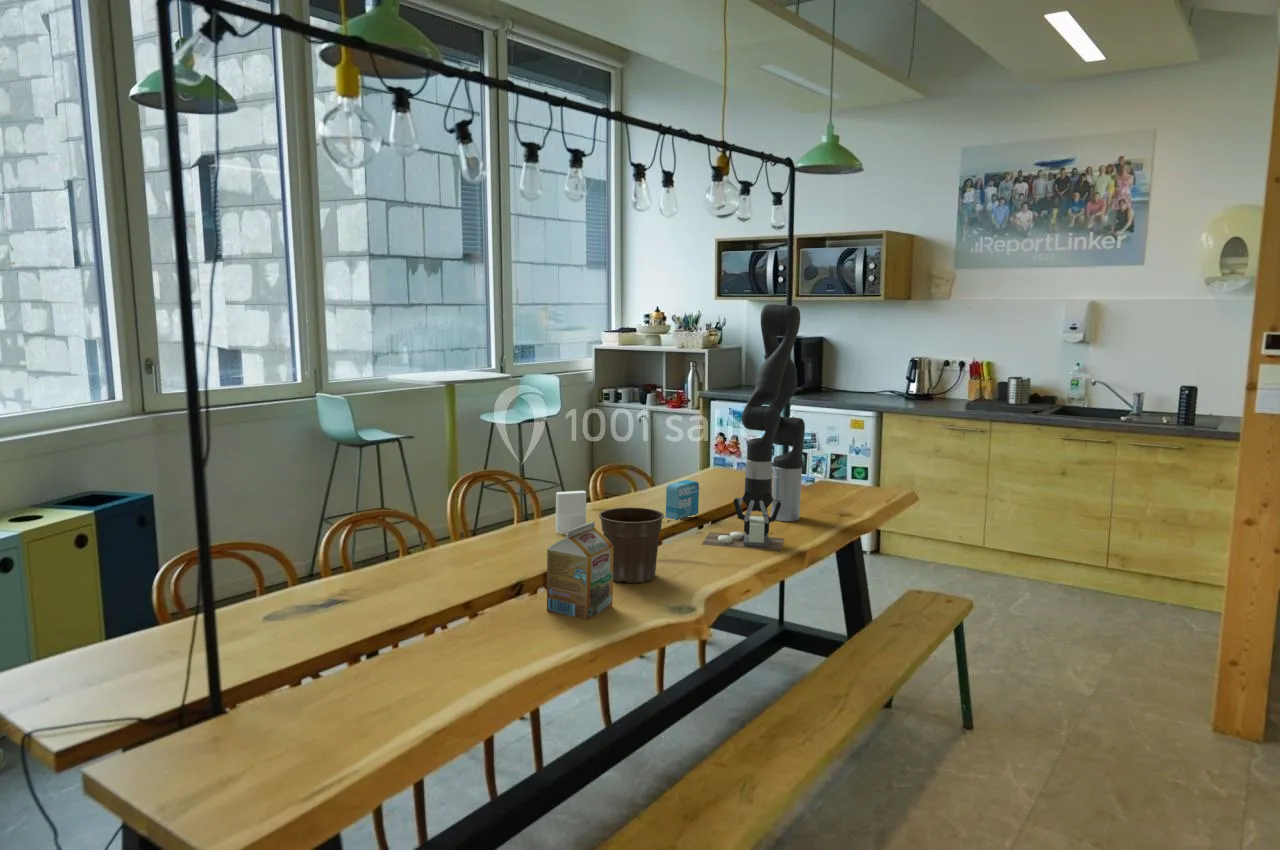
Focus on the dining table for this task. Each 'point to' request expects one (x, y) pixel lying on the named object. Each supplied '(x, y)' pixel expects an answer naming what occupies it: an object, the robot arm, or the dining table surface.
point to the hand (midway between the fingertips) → (756, 534)
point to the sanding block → (756, 533)
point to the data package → (682, 499)
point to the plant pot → (633, 542)
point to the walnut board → (742, 542)
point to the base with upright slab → (570, 510)
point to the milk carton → (580, 573)
